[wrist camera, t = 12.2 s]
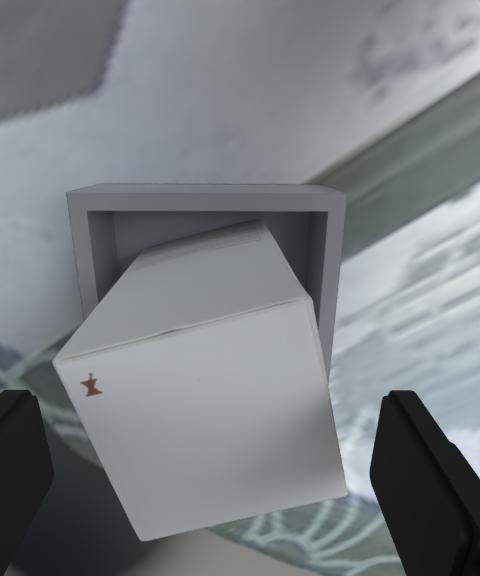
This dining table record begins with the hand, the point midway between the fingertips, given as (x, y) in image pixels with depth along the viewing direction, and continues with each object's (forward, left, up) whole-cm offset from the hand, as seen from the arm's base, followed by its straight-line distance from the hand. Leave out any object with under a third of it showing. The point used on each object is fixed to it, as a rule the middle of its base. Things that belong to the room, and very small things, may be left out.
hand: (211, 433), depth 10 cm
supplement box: (+1, 0, -13) cm, 13 cm away
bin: (+1, 0, -14) cm, 14 cm away
